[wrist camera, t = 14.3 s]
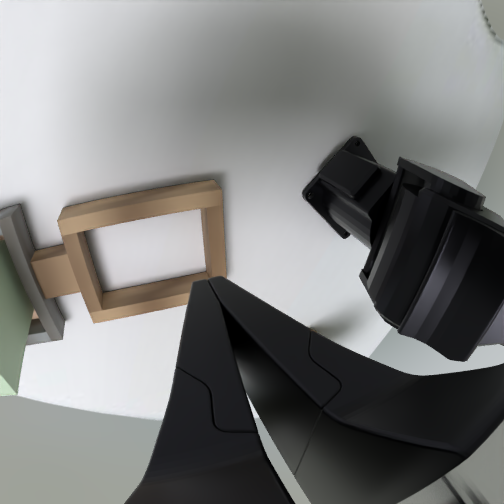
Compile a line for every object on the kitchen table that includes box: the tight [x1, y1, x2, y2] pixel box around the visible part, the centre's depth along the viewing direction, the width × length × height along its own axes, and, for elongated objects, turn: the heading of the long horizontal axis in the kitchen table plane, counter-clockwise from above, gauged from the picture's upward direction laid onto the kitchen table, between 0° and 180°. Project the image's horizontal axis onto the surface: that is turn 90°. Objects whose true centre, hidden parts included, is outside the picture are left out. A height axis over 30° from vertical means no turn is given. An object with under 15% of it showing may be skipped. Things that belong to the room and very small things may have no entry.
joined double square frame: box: [0, 180, 227, 345], centre depth 18 cm, size 21×10×2 cm, turn 89°
